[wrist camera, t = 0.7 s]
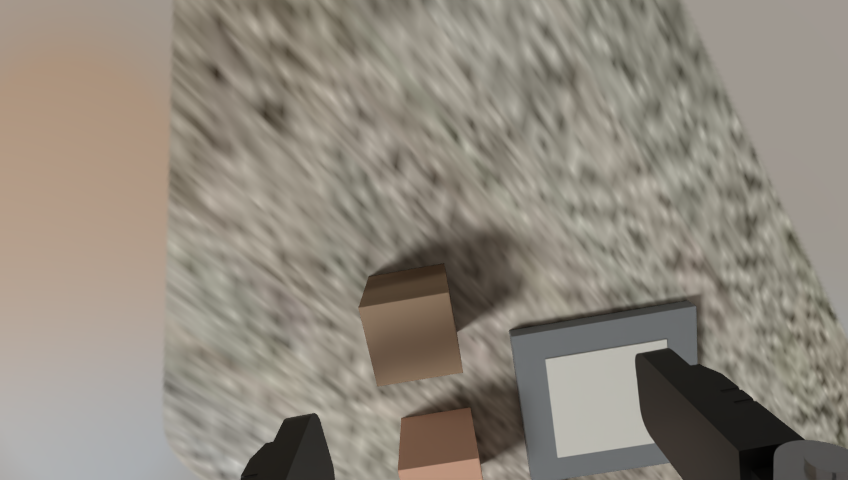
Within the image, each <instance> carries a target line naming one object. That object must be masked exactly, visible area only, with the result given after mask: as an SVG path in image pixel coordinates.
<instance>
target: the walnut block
mask: <svg viewBox="0 0 848 480" xmlns="http://www.w3.org/2000/svg"><path fill="white" fill-rule="evenodd" d="M359 312H360V316H361V320H362V324H363V329H364V333H365V337H366V341H367V345H368V349H369V353H370V357H371V362H372V366H373V370H374V374H375V378H376V382H377V386H383V385H389V384H395V383H401V382H408V381H414V380H420V379H426V378H432V377H438V376H444V375H450V374H457V373H463V369H462V363H461V356H460V350H459V344H458V337H457V331H456V325H455V320H454V314H453V309H452V303H451V298H450V292H449V287H448V281H447V276H446V270H445V265H444V263H443V264H438V265H432V266H426V267H421V268H415V269H409V270H403V271H398V272H392V273H386V274H381V275H375V276H369V277H368V280H367V284H366V287H365V290H364V293H363V296H362V299H361V302H360V305H359Z"/></svg>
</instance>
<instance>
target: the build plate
mask: <svg viewBox="0 0 848 480" xmlns="http://www.w3.org/2000/svg"><path fill="white" fill-rule="evenodd" d="M509 334H510V340H511V347H512V354H513V361H514V368H515V375H516V382H517V388H518V395H519V402H520V409H521V416H522V423H523V430H524V437H525V443H526V450H527V457H528V464H529V471H530V476H531V479H532V480H560V479H567V478H573V477H580V476H586V475H593V474H600V473H606V472H613V471H619V470H626V469H633V468H639V467H646V466H652V465H659V464H665V463H670V462H669V460H668V459H667V458H666V457H665V455H664V454H663V453H662V451H661V450H660V449H659V447H658V446H657V445H656V443H655V442H654V441H653V439H652V438H651V437H650V435H649V433H648V432H647V430H646V427H645V425H644V422H643V420H642V416H641V412H640V405H639V395H638V386H637V377H636V368H635V356H636V354H638V353H643V352H648V351H654V350H659V349H664V348H670V349H672V350H673V351H674V352H675V353H677V354H678V355H679V356H680V357H681V358H682V359H684V360H685V361H686V362H687V363H688V364H689V365H696V364H697V319H696V306H695V305H694V304H692V303H691V302H690V301H683V302H677V303H671V304H665V305H659V306H653V307H647V308H641V309H635V310H629V311H623V312H617V313H611V314H605V315H599V316H593V317H587V318H581V319H575V320H569V321H563V322H557V323H551V324H545V325H539V326H533V327H527V328H521V329H515V330H510V331H509Z"/></svg>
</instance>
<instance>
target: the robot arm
mask: <svg viewBox="0 0 848 480" xmlns="http://www.w3.org/2000/svg"><path fill="white" fill-rule="evenodd" d="M635 368H636V377H637V386H638V395H639V405H640V412H641V416H642V420H643V422H644V425H645V427H646V430H647V432H648V433H649V435H650V437H651V438H652V439H653V441H654V442H655V443H656V445H657V446H658V447H659V449H660V450H661V451H662V453H663V454H664V455H665V457H666V458H667V459H668V460H669V462H670V463H671V464H672V466H673V467H674V468H675V470H676V471H677V472H678V474H679V475H680V476H681V478H682V479H683V480H848V449H846V448H843V447H840V446H837V445H834V444H830V443H826V442H820V441H813V440H805V439H803V438H802V437H801V436H800V435H798V434H797V433H796V432H795V431H793V430H792V429H791V428H790V427H788V426H787V425H786V424H785V423H783V422H782V421H781V420H779V419H778V418H777V417H776V416H774V415H773V414H772V413H771V412H769V411H768V410H767V409H766V408H764V407H763V406H762V405H761V404H759V403H758V402H757V401H753V398H752V397H750V396H749V395H748V394H747V393H745V392H744V391H743V390H739V387H738V386H737V385H735V384H734V383H733V382H732V381H730V380H729V379H728V378H727V377H725V376H724V375H723V374H721V373H719V372H716V371H714V370H712V369H709V368H707V367H705V366H702V365H700V364H696V365H689V364H688V363H687V362H686V361H685V360H684V359H682V358H681V357H680V356H679V355H678V354H677V353H675V352H674V351H673V350H672V349H670V348H664V349H659V350H654V351H648V352H643V353H638V354H636V356H635ZM241 480H335V476H334V468H333V464H332V460H331V457H330V453H329V450H328V446H327V443H326V439H325V436H324V432H323V429H322V426H321V422H320V419H319V417H318V415H317V414H315V413H312V414H307V415H302V416H296V417H291V418H286V419H285V420H284V421H283V423H282V425H281V427H280V429H279V431H278V433H277V435H276V437H275V439H274V441H273V442H270V443H265V445H264V446H263V447H262V448H261V449H260V450H259V451H258V452H257V453H256V454H255V455H254V456H253V457H252V458H251V459H250V460H249V462H248V464H247V466H246V468H245V469H244V471H243V473H242V475H241Z"/></svg>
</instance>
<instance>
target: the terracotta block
mask: <svg viewBox="0 0 848 480" xmlns="http://www.w3.org/2000/svg"><path fill="white" fill-rule="evenodd" d="M398 473H399V477H400V480H483V476H482V470H481V464H480V459H479V453H478V447H477V442H476V436H475V431H474V425H473V420H472V414H471V409H470V407H469V408H463V409H457V410H451V411H444V412H438V413H432V414H426V415H419V416H413V417H407V418H401V432H400V447H399V462H398Z"/></svg>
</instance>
